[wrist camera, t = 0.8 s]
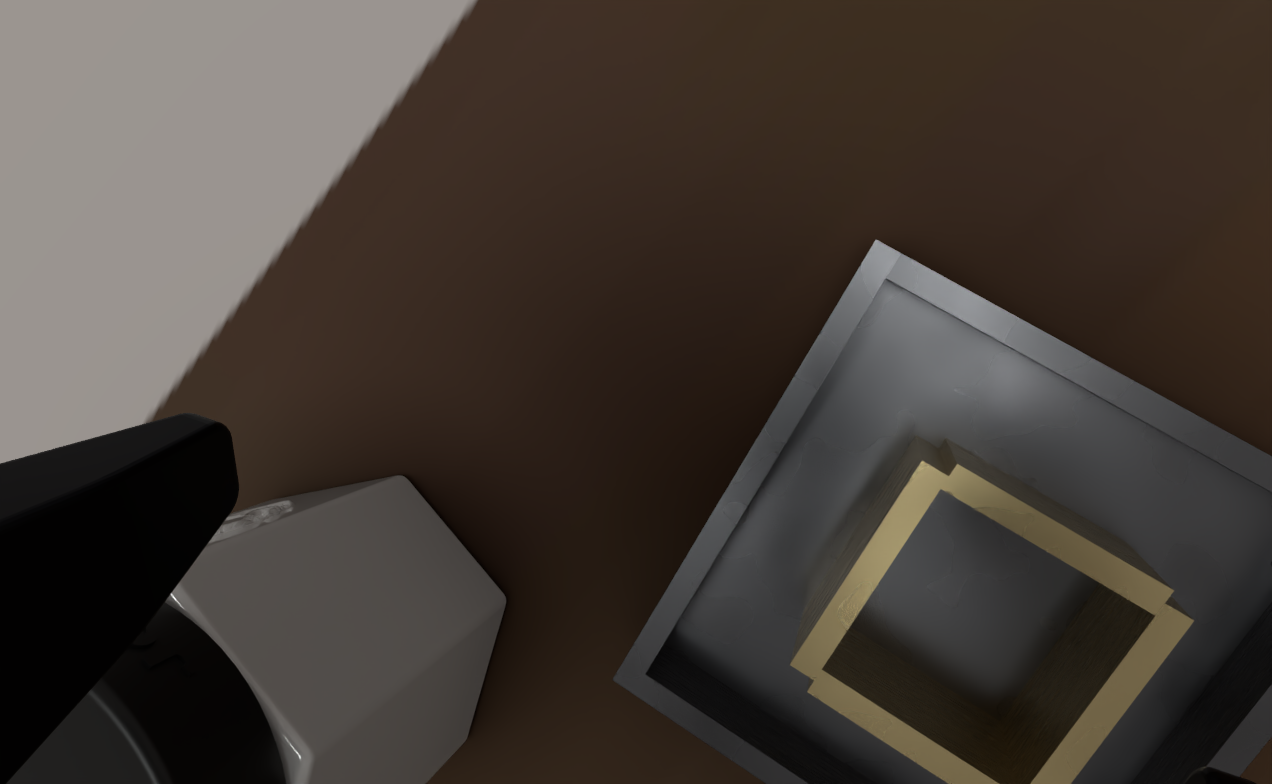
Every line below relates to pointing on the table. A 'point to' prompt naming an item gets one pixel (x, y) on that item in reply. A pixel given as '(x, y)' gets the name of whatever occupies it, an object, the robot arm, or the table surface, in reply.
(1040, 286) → the table surface
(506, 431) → the table surface
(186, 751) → the jar
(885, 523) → the gray square tray
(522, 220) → the table surface
